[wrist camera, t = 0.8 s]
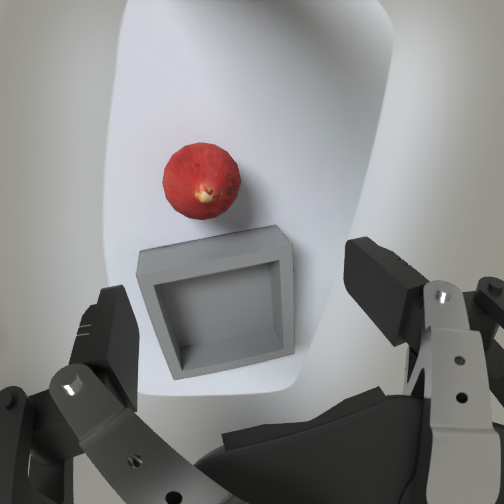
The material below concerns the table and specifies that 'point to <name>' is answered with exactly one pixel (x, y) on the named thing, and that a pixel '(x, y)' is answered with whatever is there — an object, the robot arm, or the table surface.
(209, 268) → the box
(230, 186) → the pomegranate
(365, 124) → the table surface
